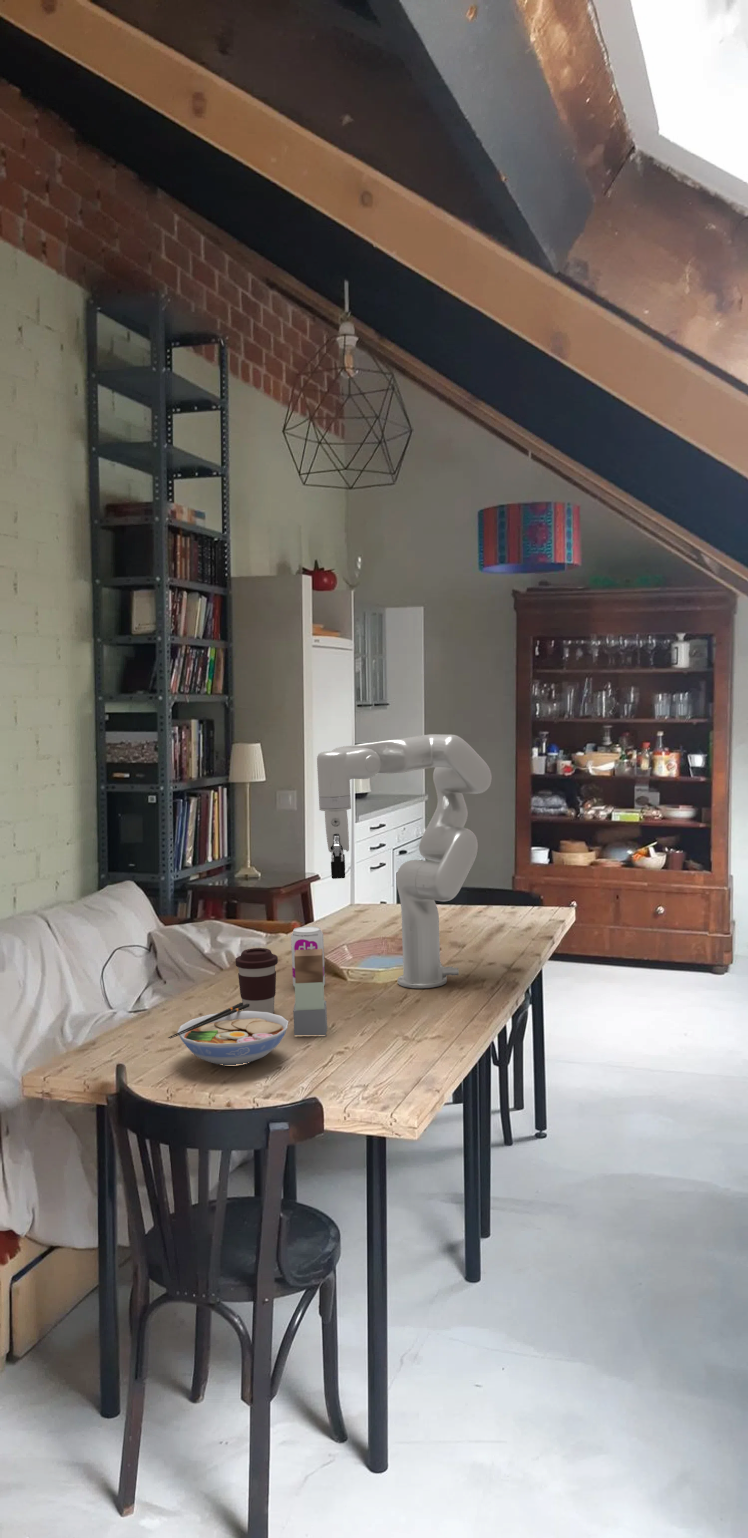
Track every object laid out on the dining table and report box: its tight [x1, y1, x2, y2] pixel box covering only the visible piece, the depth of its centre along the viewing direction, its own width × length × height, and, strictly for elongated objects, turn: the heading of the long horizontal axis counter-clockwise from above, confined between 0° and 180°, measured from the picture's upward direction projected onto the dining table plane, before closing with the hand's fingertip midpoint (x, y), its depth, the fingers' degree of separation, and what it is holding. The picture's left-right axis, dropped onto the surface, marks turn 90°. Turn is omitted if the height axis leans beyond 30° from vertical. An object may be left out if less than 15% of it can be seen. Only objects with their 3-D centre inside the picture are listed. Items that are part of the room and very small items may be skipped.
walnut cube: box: [294, 949, 323, 983], centre depth 249 cm, size 6×6×6 cm
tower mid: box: [294, 980, 325, 1010], centre depth 250 cm, size 6×6×6 cm
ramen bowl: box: [167, 1002, 289, 1065], centre depth 232 cm, size 25×23×8 cm
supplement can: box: [290, 926, 326, 988], centre depth 288 cm, size 8×8×15 cm
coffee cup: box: [235, 947, 279, 1014], centre depth 266 cm, size 10×10×15 cm
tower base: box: [292, 1000, 328, 1036], centre depth 250 cm, size 7×7×6 cm
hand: (338, 874), depth 268 cm, fingers open, 9 cm apart
